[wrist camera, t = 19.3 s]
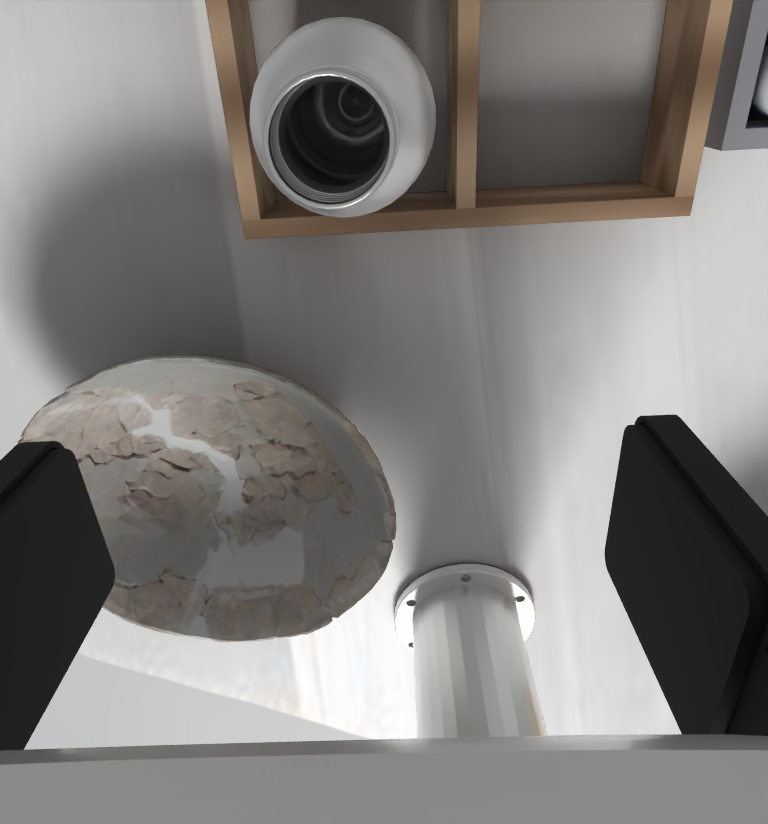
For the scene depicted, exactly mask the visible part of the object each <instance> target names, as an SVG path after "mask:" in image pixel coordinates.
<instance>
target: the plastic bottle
mask: <svg viewBox="0 0 768 824" xmlns="http://www.w3.org/2000/svg"><path fill="white" fill-rule="evenodd" d="M250 129H251V135H252V141H253V145H254V148H255V151H256V154H257V157H258V159H259V162H260V164H261V165H262V167H263V169H264V170H265V172H266V174H267V176H268V177H269V179H270V180H271V181H272V182H273V183H274V184H275V186H276V187H277V188H278V189H279V190H280V191H281V192H282V193H283V194H284V195H285V196H287V197H288V198H289V199H290V200H292V201H293V202H294V203H296V204H298V205H300V206H302V207H303V208H305V209H307V210H309V211H312V212H315V213H318V214H322V215H325V216H333V217H342V218H344V217H355V216H362V215H365V214H368V213H372V212H375V211H377V210H379V209H381V208H383V207H385V206H387V205H389V204H391V203H392V202H394V201H395V200H396V199H397V198H399V197H400V196H401V195H402V194H404V193H405V192H406V191H407V190H408V189H409V187H410V186H411V185H412V184H413V183H414V182H415V180H416V179H417V178H418V176H419V174H420V173H421V171H422V169H423V168H424V166H425V164H426V162H427V160H428V157H429V154H430V151H431V148H432V146H433V141H434V135H435V129H436V105H435V100H434V95H433V91H432V86H431V84H430V81H429V79H428V76H427V74H426V71H425V69H424V67H423V66H422V64H421V63H420V61H419V60H418V58H417V56H416V55H415V53H414V52H413V51H412V50H411V49H410V48H409V47H408V46H407V45H406V44H405V43H404V42H403V41H402V40H401V39H400V38H399V37H398V36H397V35H395V34H393V33H392V32H390V31H389V30H387V29H386V28H384V27H383V26H381V25H378V24H375V23H372V22H370V21H367V20H364V19H359V18H351V17H334V18H325V19H321V20H318V21H315V22H312V23H309V24H306V25H304V26H302V27H301V28H299V29H298V30H296V31H294V32H293V33H291V34H289V35H288V36H287V37H286V38H285V39H284V40H283V41H282V42H281V43H280V44H278V45H277V46H276V47H275V48H274V49H273V51H272V52H271V54H270V55H269V57H268V58H267V60H266V61H265V62H264V64H263V65H262V67H261V70H260V72H259V75H258V77H257V79H256V82H255V84H254V88H253V93H252V98H251V102H250Z"/></svg>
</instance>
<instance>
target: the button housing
mask: <svg viewBox="0 0 768 824" xmlns="http://www.w3.org/2000/svg"><path fill="white" fill-rule="evenodd" d="M767 32H768V0H755V1H748V2H742V3H736V4H732V9H731V14H730V19H729V24H728V29H727V34H726V39H725V44H724V49H723V54H722V59H721V64H720V69H719V74H718V79H717V84H716V89H715V94H714V99H713V104H712V109H711V114H710V119H709V124H708V129H707V134H706V139H705V144H704V146H705V147H709V148H713V149H717V150H721V151H725V150H743V149H761V148H768V120H758V121H747V119H748V115H749V110H750V106H751V101H752V97H753V93H754V88H755V84H756V80H757V75H758V71H759V67H760V62H761V58H762V54H763V49H764V45H765V41H766V36H767Z"/></svg>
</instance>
